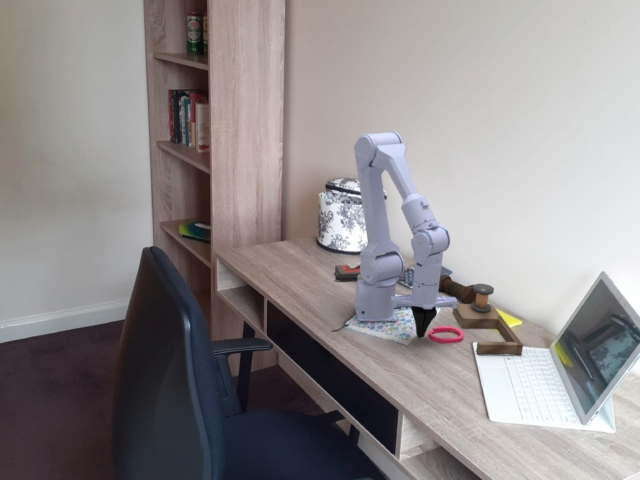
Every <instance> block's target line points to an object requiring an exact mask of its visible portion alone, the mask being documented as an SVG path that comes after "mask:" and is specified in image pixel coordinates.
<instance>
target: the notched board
mask: <svg viewBox="0 0 640 480" xmlns="http://www.w3.org/2000/svg"><path fill="white" fill-rule="evenodd" d="M488 304H489V305H490V306H491V311H490V312H488V313H479V312H476V311H473V310H472V309H471V304H463V303H457V308H456V309H452V314H453V316H454V318H455V319H456V321H457V323H458V324H459V326H460V328H461V329H496V330H497V331H498V332H499V334H500V335H501V336H502V338H503V339H504V341H477V342H476V343H477V344H476V349H475V352H477V353H476V354H477V356H479V355H480V354H516V355H515V356H522V355H523V354H522V353H523V348H524V344H523V343H522V342H521V340H520V339H519V338H518V336H517V335H516V333H514V331H513V329H512V328H511V327H510V326H509V323H507V322H506V321H505V319H504V318H503V316H501V314H500V313H499V310H497V309H496V307H495V306H494V305H493V304H492V303H491V304H490V303H488ZM480 356H481V355H480Z"/></svg>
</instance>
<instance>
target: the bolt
mask: <svg viewBox="0 0 640 480" xmlns="http://www.w3.org/2000/svg"><path fill="white" fill-rule="evenodd" d="M474 285H475V284H470V285H467V286H465V285H463V284H461V283H458V282H456V281H454V280H452V278H451V276H450V275H449V274H447V273H446V274H440V281H439V290H438V292H441V293H442V292H443V293H445V292H448V293H450V294H452V295H454V296H456V297H457V298H460V299H461V302H462V304H471V303H472V302H476V296H477V293H476V292H475V291H474V290H473V287H474Z"/></svg>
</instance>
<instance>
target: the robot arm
mask: <svg viewBox="0 0 640 480" xmlns="http://www.w3.org/2000/svg"><path fill="white" fill-rule="evenodd" d="M406 149H407V148H406V145H405V144H404V141H403V138H402V135H400V133H398V132H397V131H388V132H380V133H379V132H378V133H362V134H360V136H359V137H358V138H357V140H356V142H355V144H354V145H353V151H354V159H355V164H356V169H357V170H356V171H357V178H358V179H357V180H358V184H359V191H360V198H361V203H362V204H361V205H362V211H363V218H364V223H365V231H366V237H367V244H366V245H365V247H364V248H363V249H362V251H360V253H359V256H360V262H361V263H360V273H361V276H362V278H363V280H359V281H356V287H355V299H354V311H355V314H356V317H357V321H358V322H387V321H388V322H389V323H390V321H396V322H397V321H398V318H397V315H396V313H395V311H394V309H396V308H400V307H403V308H404V307H406V308H408V307H409V308H410V309H411V313H412V316H413V319H414V323H415V334H416V337H417V338H418V339H419V338H425V335H426V332H427V330H428V328H429V326H430V324H431V323H432V321H433V320H434V319H435V318H436V317H437V313H438V311H437V308H451V310H453V309H456V308H457V304H458V300H457V298H456V297H455V296H444V295H439V281H440V275H441V273H442V264H443V256H444V252H446V251H447V250H448V249H449V247H450V245H451V237H450V233H449V231H448V229H447V228H446V227H445V226H443V225H441V223H440V222H439V221H437V220H436V218H435V216H434V213H433V211H432V209H431V207H430V203H429V201H428V200H427V198H426V197H425V196H423V195H421V194H419V193H418V192H417V187H416V185H415V183H414V180H413V178H412V175H411V172H410V169H409V166H408V163H407V161H406V159H405V155H406ZM384 171H386V172H387V173H388V175H389V177H390V178H391V180H392V182H393V185H394V186H395V188H396V190H397V191H398V193H399V194H400V197H401V199H402V203H401V207H400V208H401V210H402V214H403V215H404V218H405V220H406V223H407V225H408V227H409V230H410V231H411V234H412V238H411V239H410V245H411V249H412V251H413V252H412V253H413V260H414V267H413V275H412V277H413V278H412V287H411V288H412V289H411V293H409V294H403V295H396V289H397V287H396V286H397V282H399V281H400V278H399V277H400V276H403V274H404V272H405V268H406V266H405V265H406V264H405V260H404V258H403V256H402V254H401V253H402V252H401V250H400V246H399V245H397V244H396V243H395V242H393V240H391V239H392V238H391V233H390V227H389V218H388V213H387V207H386V199H385V192H384V185H383V179H382V174H383V173H384ZM388 322H387V323H388Z"/></svg>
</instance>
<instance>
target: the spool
mask: <svg viewBox="0 0 640 480" xmlns="http://www.w3.org/2000/svg"><path fill="white" fill-rule="evenodd" d="M473 285H474V287H473V290H474V291H475V292H476V293H477V296H476V302H472V303H471V309H472V310H473V311H476V312H479V313H488V312H490V311H491V306H490V305H489V304H490V303H488V302H489V296H490V295H493V293H494V290H495V288H494V287H493V286H491V285H489V284H486V283H475V284H473Z"/></svg>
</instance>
